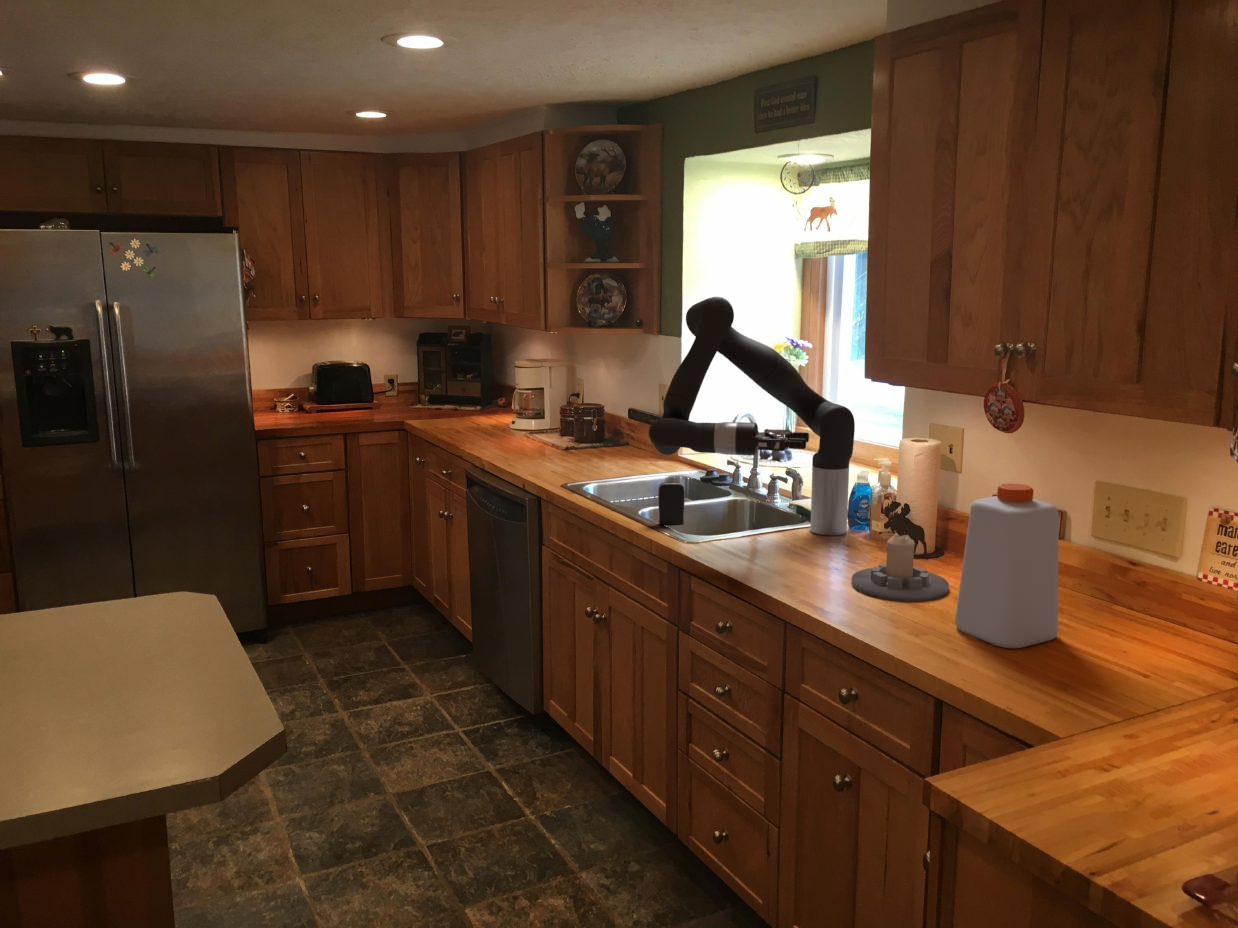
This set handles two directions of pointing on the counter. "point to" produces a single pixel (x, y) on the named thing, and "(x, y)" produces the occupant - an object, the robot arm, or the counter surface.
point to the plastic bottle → (1010, 570)
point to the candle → (900, 557)
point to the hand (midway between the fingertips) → (807, 440)
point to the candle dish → (898, 594)
